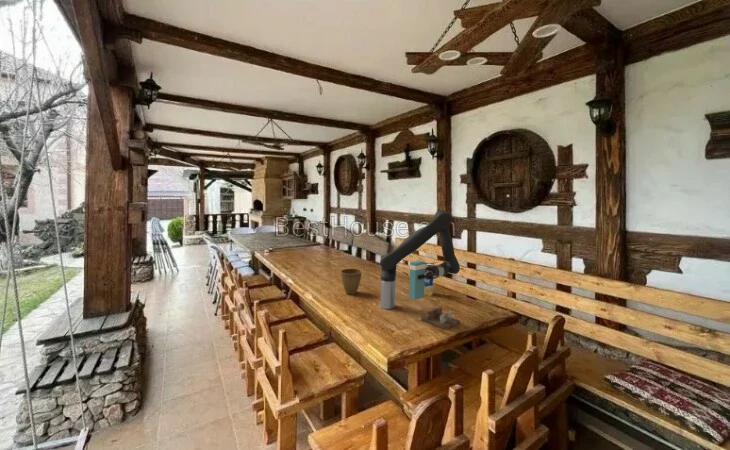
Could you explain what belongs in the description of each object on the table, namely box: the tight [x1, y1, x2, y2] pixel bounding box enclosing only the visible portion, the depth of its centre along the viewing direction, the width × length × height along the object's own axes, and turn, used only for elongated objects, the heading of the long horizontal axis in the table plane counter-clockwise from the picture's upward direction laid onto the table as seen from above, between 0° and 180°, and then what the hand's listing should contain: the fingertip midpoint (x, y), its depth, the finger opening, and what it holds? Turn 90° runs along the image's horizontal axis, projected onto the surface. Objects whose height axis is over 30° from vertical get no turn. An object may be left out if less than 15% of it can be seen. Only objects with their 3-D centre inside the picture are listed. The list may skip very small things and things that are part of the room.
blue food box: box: [424, 262, 435, 297], centre depth 223 cm, size 7×11×22 cm, turn 74°
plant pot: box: [340, 268, 362, 295], centre depth 223 cm, size 15×15×16 cm
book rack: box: [420, 306, 461, 331], centre depth 175 cm, size 14×16×6 cm
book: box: [408, 260, 426, 301], centre depth 173 cm, size 8×4×20 cm, turn 131°
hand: (415, 276), depth 171 cm, fingers closed on book, 4 cm apart
